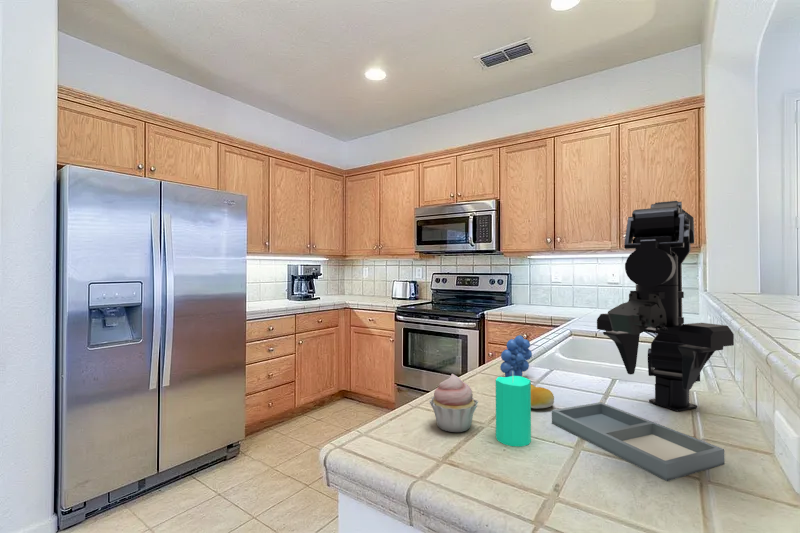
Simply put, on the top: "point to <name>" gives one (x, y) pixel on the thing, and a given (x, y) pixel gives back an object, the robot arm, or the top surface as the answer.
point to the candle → (513, 410)
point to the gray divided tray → (639, 440)
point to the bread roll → (541, 397)
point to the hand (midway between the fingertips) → (657, 381)
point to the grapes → (516, 356)
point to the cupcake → (453, 405)
